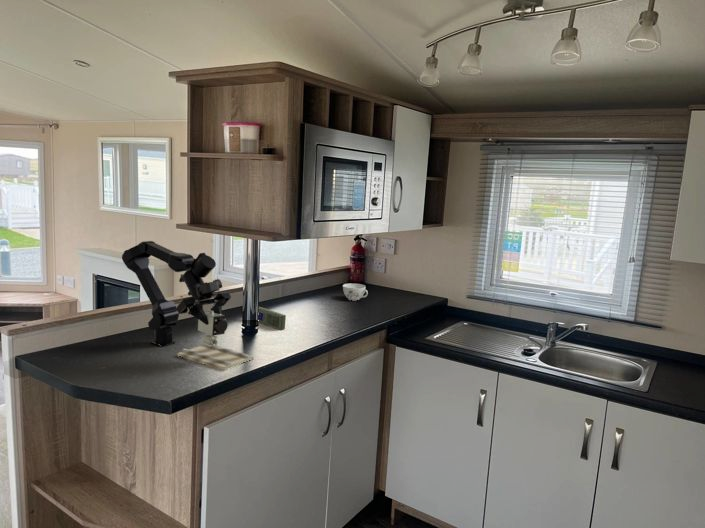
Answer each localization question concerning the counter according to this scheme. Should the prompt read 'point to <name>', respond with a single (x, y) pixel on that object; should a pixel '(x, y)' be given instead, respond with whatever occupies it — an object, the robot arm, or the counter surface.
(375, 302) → the counter surface
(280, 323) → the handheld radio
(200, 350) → the mounting panel
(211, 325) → the pneumatic valve
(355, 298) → the teacup
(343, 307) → the counter surface
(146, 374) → the counter surface
